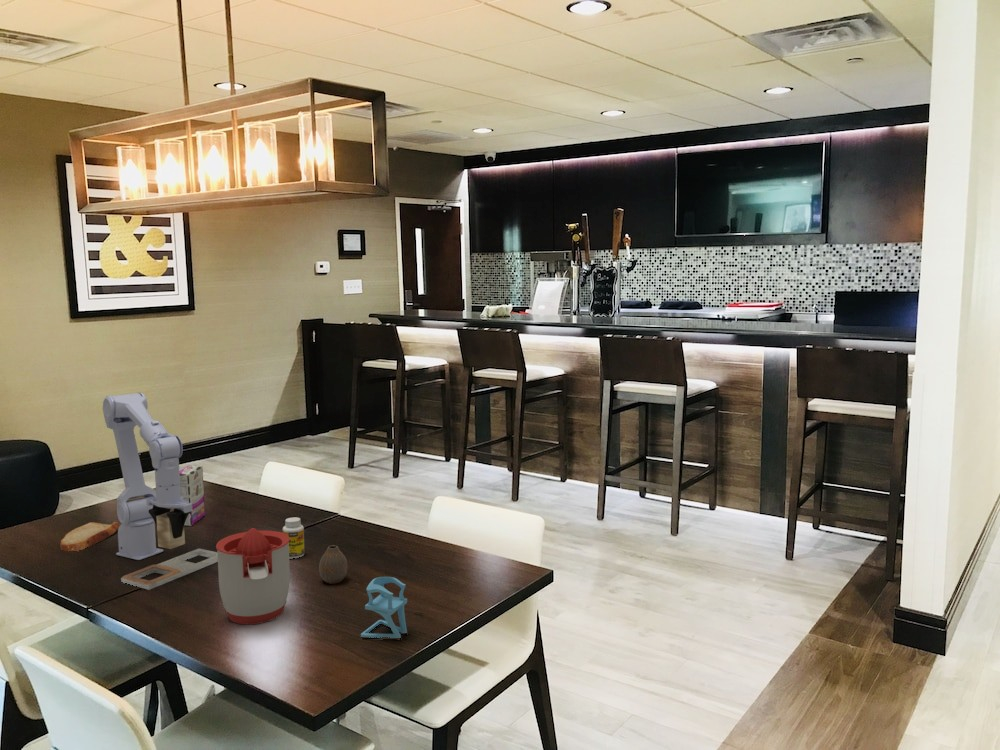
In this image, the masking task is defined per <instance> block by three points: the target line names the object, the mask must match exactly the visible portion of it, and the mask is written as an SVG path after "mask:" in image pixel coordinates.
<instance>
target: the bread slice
mask: <svg viewBox="0 0 1000 750" xmlns="http://www.w3.org/2000/svg"><path fill="white" fill-rule="evenodd" d="M120 525H121V523H120V522H118V521H113V522H112V523H111V524H108V523H100V522H93V521H91V522H87V523H85V524H82V525H81V526H78V527H76V528H74V529H72V530H70V531H69V532H67V533H66V534H65V535H64V537H63V538H62V539H61V540H60V542H59V548H60V551H62V550H64V551H63V552H66V551H68V552H67V553H70V552H69V551H77V552H80V551H79V550H81V551H84V550H85V548H86V549H88V548H90V546H91V547H93V546H94V545H95V546H96V545H97V544H99V543H100V541H101V542H103V541H104V540H106V539H108V538H110V537H111V535H112V536H113V535H114V534H116V533H117V532H118V529H119V527H120ZM98 542H99V543H98ZM96 543H97V544H96ZM92 545H93V546H92ZM87 547H88V548H87Z"/></svg>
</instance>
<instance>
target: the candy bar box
mask: <svg viewBox="0 0 1000 750" xmlns="http://www.w3.org/2000/svg"><path fill="white" fill-rule="evenodd" d="M179 473H180V492H181V497H183V498H184V501H186V502H188V503H192V511H191V512H190V513H189V515H188V517H187V519H186V521H185V524H184V527H193V526H194V525H195V524H196V523H198V522H199V521H200V520H202V518H204V517H205V516H206V503H205V491H204V489H205V488H204V487H205V486H204V472H203V465H188V466H185V467H184V468H182V469H181V470H180V469H179ZM203 516H204V517H203ZM198 520H199V521H198ZM197 521H198V522H197ZM192 525H193V526H192Z"/></svg>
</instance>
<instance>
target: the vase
mask: <svg viewBox="0 0 1000 750" xmlns="http://www.w3.org/2000/svg"><path fill="white" fill-rule="evenodd" d="M318 572H319V575H320V577H321V579H322V581H324V582H325V583H326V584H328V585H329V584H331V585H333V584H334V585H335V584H339V583H341V582H342V581H343V580H344V579H345V578H346V575H347V573H348V561H347V558H346V555H345V554H343V552H342V551H341V550H340V549H339V546H337V545H335V544H333V545H328V547H327V549H326V550H325V552H324V553H323V554H322V556H321V558H320V560H319V564H318Z"/></svg>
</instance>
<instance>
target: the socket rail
mask: <svg viewBox="0 0 1000 750" xmlns="http://www.w3.org/2000/svg"><path fill="white" fill-rule="evenodd" d="M198 556H201V557H205V558H206V559H204V560H201V561H199V562H196V563H195V562H191V561H187V559H188V560H190V559H192V558H193V559H194V558H195V557H198ZM215 563H218V553H217V551H212V550H209V549H208V550H207V549H204V548H196V549H193V550H191V551H189V552H188V551H187V552H186V553H183V554H181V555H177V556H175V557H173V558H171V559H167V560H165V561H162V562H160V563H157V564H151V565H148V566H146V567H143V568H141V569H138V570H135V571H133V572H130V573H127V574H125V575H123V576H122V577H120V580H121V581H120V582H123V583H122V584H125V583H127V584H126V585H128V584H130V585H129V586H132V585H133V586H134V587H136V586H137V587H136V588H141V589H143V590H144V589H145V590H147V591H150V590H152V589H155V588H157V587H159V586H162V585H164V584H167V583H169V582H172V581H174V580H177V579H179V578H182V577H185V576H186V575H189V574H191V573H193V572H196V571H199V570H201V569H203V568H206V567H208V566H210V565H213V564H215ZM154 573H156V574H160V576H159V577H155V578H153V579H151V580H148V579H144V577H147V576H149V575H151V574H154ZM146 575H147V576H146ZM133 586H132V587H133Z"/></svg>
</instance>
